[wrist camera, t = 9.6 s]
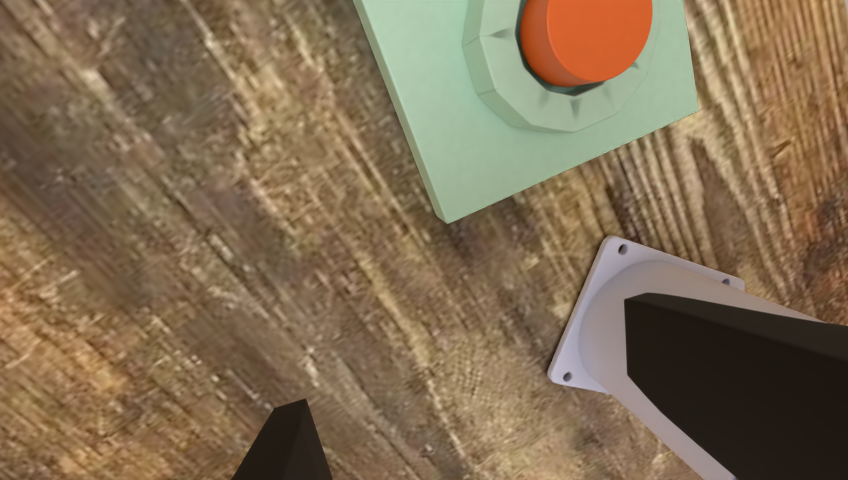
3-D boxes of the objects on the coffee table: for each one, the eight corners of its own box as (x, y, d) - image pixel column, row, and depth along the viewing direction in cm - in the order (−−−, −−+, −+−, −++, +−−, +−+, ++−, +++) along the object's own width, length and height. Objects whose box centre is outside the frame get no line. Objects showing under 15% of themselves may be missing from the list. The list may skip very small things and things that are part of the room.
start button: (602, -46, 13) (641, -71, 12) (624, 65, 15) (662, 56, 13) (505, -8, 13) (532, -29, 11) (536, 103, 14) (564, 99, 12)
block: (625, -140, 16) (704, -211, 12) (668, 112, 19) (740, 109, 16) (338, -36, 14) (341, -86, 11) (436, 216, 18) (461, 236, 14)
